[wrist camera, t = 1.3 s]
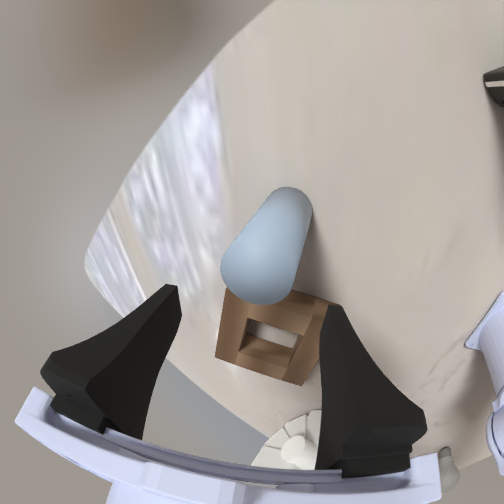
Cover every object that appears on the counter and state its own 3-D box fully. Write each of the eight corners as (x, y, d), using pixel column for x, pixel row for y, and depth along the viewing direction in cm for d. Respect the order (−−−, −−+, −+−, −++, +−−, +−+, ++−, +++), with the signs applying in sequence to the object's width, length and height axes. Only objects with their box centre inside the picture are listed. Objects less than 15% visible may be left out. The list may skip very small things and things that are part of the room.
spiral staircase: (333, 372, 37) (403, 433, 39) (246, 433, 39) (332, 480, 41) (374, 463, 19) (440, 497, 21) (243, 524, 21) (348, 546, 23)
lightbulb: (439, 443, 35) (439, 490, 26) (463, 440, 33) (465, 485, 24) (427, 454, 38) (425, 497, 28) (450, 451, 36) (450, 493, 27)
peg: (318, 195, 22) (303, 255, 13) (304, 237, 24) (282, 313, 16) (270, 181, 22) (225, 230, 14) (260, 224, 25) (216, 291, 16)
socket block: (339, 304, 26) (338, 325, 24) (305, 366, 32) (301, 386, 29) (236, 271, 28) (225, 289, 25) (223, 339, 33) (214, 357, 31)
